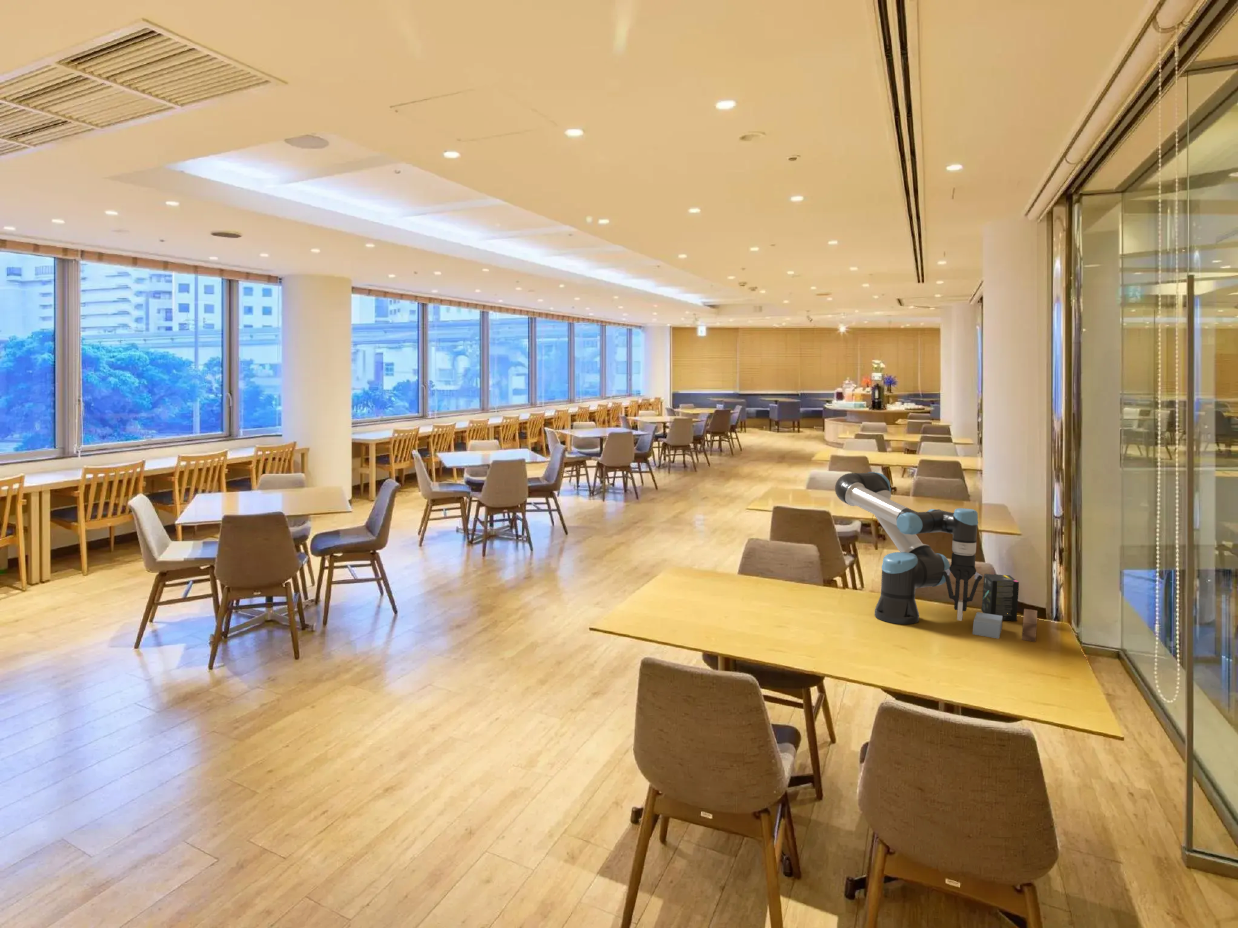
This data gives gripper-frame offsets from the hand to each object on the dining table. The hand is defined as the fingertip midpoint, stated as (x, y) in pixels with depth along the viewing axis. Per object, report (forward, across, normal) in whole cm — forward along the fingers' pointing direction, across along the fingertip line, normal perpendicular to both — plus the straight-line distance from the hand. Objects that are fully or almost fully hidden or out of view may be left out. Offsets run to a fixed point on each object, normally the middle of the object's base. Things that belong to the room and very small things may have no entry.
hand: (959, 619), depth 256 cm
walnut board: (+3, +21, +6) cm, 22 cm away
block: (+3, +9, 0) cm, 9 cm away
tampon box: (+3, +11, +23) cm, 25 cm away
